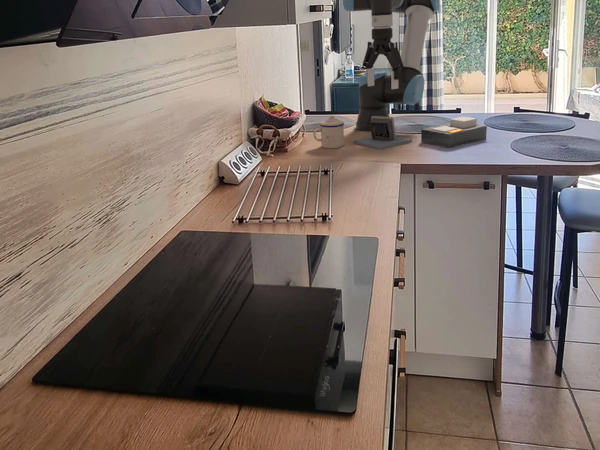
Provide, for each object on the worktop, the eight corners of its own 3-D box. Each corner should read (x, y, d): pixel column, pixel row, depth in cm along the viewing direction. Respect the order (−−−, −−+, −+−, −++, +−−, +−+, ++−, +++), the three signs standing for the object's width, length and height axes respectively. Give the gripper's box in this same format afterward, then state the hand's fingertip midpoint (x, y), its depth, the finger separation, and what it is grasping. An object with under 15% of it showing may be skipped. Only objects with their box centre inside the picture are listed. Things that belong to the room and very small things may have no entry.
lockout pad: (352, 142, 226) (352, 140, 225) (384, 136, 234) (383, 133, 233) (379, 149, 213) (379, 146, 213) (411, 141, 221) (411, 139, 221)
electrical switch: (396, 139, 222) (395, 115, 218) (390, 143, 218) (389, 119, 214) (374, 137, 227) (373, 114, 223) (368, 141, 223) (367, 118, 219)
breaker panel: (421, 142, 220) (421, 128, 218) (457, 133, 230) (458, 120, 228) (448, 148, 208) (449, 133, 207) (486, 138, 218) (486, 124, 217)
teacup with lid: (341, 142, 227) (340, 112, 223) (347, 147, 219) (346, 116, 215) (311, 145, 226) (310, 115, 221) (316, 150, 217) (315, 119, 213)
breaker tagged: (431, 136, 217) (431, 128, 216) (444, 133, 220) (444, 125, 219) (444, 138, 211) (445, 131, 210) (457, 135, 215) (458, 128, 214)
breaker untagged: (450, 126, 221) (450, 119, 220) (462, 123, 224) (462, 116, 223) (463, 128, 215) (464, 121, 214) (476, 125, 219) (476, 118, 218)
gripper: (352, 28, 217) (354, 85, 224) (397, 28, 197) (397, 91, 205) (368, 26, 221) (369, 83, 228) (413, 26, 201) (413, 88, 208)
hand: (382, 87), depth 216 cm, fingers open, 13 cm apart
